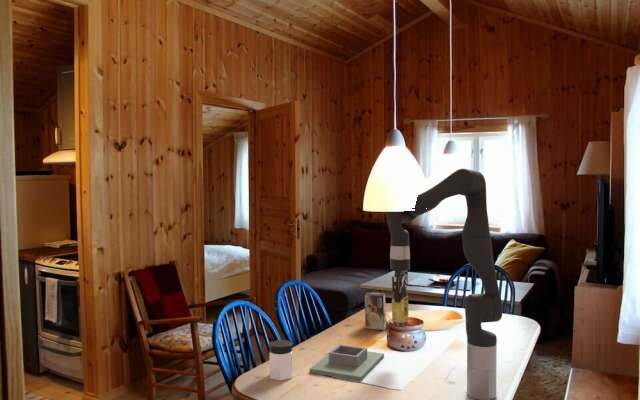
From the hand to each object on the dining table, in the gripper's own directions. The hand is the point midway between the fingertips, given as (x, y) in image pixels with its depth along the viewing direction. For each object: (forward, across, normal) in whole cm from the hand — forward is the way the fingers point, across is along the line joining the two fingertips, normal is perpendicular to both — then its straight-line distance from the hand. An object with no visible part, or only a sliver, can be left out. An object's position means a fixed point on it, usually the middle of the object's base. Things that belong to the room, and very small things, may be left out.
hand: (400, 300), depth 204 cm
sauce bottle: (+10, 0, 0) cm, 10 cm away
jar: (+24, -32, +35) cm, 53 cm away
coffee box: (+23, +38, +23) cm, 51 cm away
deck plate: (+24, -12, +17) cm, 31 cm away
